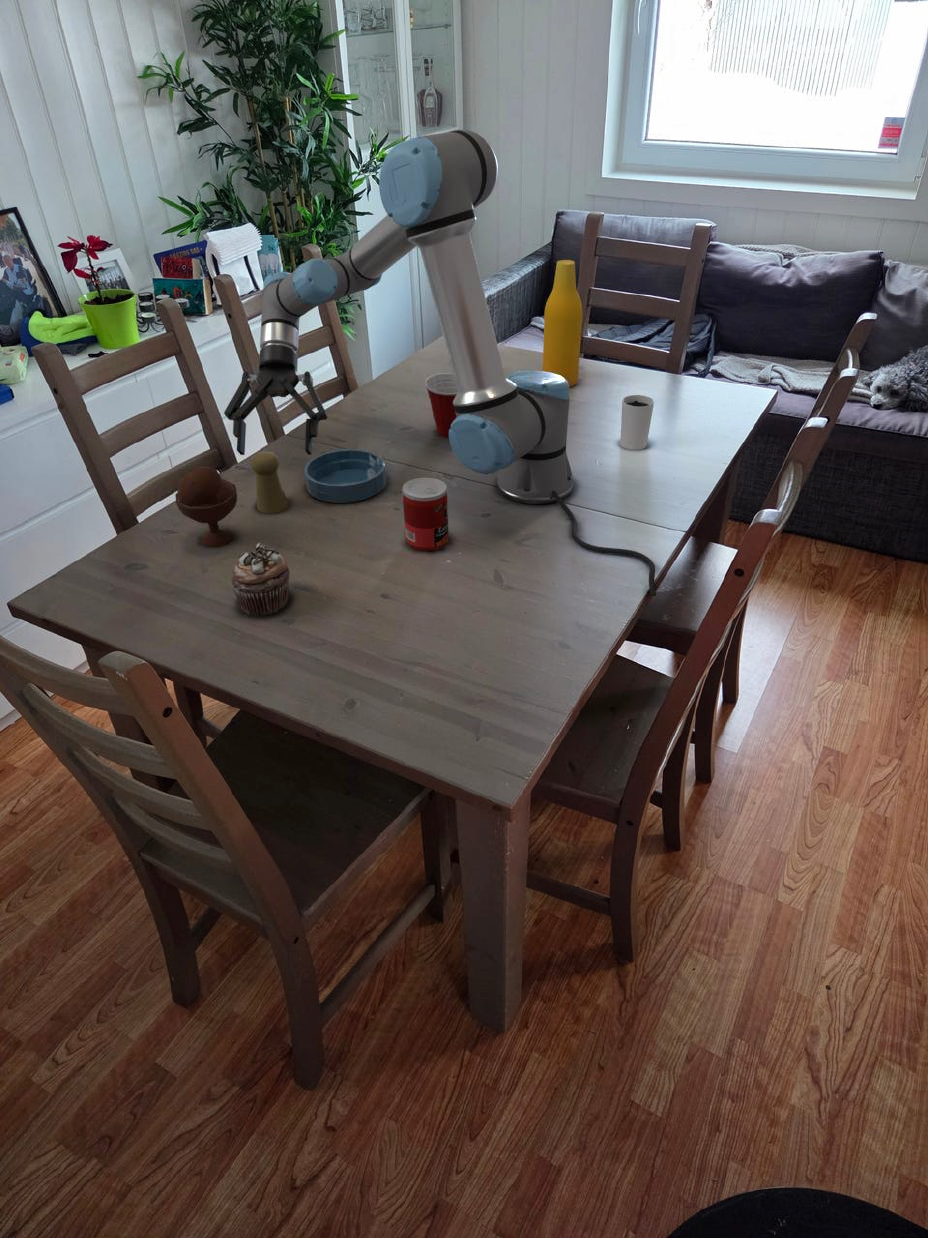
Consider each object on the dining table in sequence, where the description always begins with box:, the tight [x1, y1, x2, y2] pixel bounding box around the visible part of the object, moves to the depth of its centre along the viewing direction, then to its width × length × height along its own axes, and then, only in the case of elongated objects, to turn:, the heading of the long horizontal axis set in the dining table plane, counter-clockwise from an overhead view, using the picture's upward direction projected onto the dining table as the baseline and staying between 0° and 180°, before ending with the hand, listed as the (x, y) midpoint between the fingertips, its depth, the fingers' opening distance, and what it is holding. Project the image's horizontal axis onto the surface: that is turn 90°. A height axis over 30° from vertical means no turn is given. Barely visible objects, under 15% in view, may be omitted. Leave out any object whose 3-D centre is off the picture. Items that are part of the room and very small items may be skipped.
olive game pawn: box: [250, 451, 289, 514], centre depth 162 cm, size 6×6×11 cm
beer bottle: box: [541, 259, 583, 388], centre depth 205 cm, size 9×9×29 cm
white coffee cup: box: [619, 394, 655, 451], centre depth 181 cm, size 7×7×10 cm
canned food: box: [402, 477, 450, 552], centre depth 150 cm, size 8×8×11 cm
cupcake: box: [229, 542, 290, 617], centre depth 136 cm, size 10×10×10 cm
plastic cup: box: [424, 372, 458, 438], centre depth 187 cm, size 11×11×12 cm
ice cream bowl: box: [175, 465, 238, 547], centre depth 151 cm, size 11×11×15 cm
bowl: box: [303, 448, 387, 504], centre depth 171 cm, size 16×16×4 cm
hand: (274, 452), depth 166 cm, fingers open, 13 cm apart
